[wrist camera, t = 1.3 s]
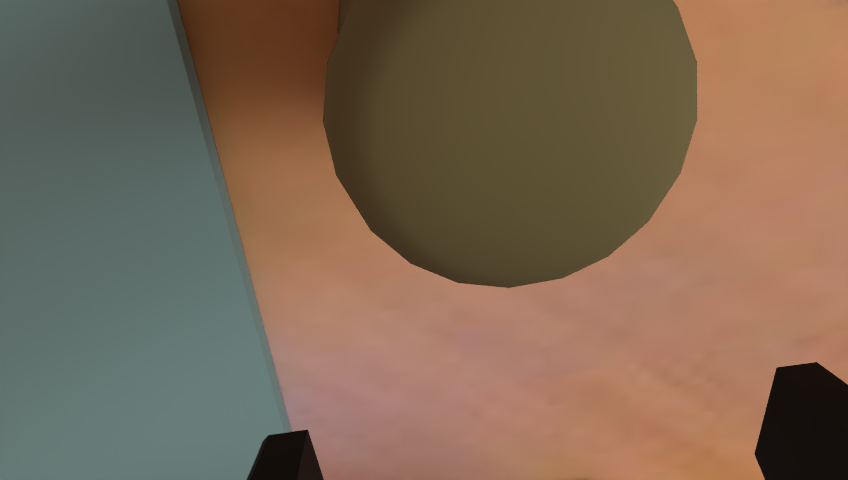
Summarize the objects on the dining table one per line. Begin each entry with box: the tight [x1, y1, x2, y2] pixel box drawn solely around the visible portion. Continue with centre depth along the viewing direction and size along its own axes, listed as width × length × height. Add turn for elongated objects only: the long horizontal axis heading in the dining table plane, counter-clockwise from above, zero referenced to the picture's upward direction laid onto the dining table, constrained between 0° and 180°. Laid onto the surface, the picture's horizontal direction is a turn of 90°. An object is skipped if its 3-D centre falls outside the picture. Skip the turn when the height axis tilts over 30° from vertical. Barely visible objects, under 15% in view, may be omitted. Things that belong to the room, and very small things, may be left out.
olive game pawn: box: [323, 0, 697, 288], centre depth 13 cm, size 6×6×11 cm
